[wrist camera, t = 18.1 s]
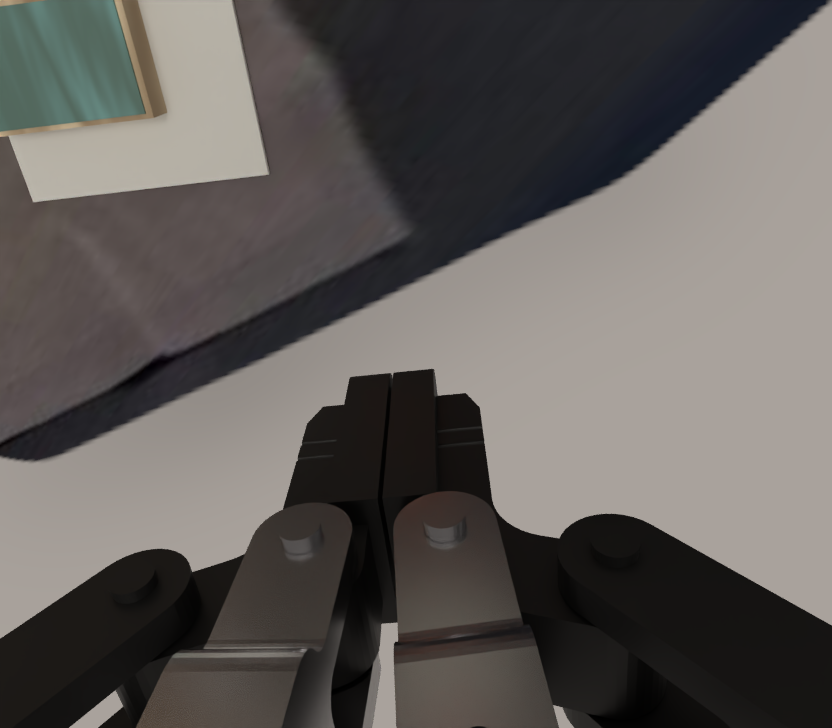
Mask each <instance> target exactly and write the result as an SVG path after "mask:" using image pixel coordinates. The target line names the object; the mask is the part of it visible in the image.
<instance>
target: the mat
mask: <svg viewBox="0 0 832 728" xmlns="http://www.w3.org/2000/svg"><path fill="white" fill-rule="evenodd" d="M138 4H139V8H140V11H141V15H142V19H143V23H144V26H145V30H146V34H147V38H148V41H149V45H150V49H151V53H152V56H153V60H154V64H155V68H156V71H157V75H158V79H159V82H160V86H161V90H162V94H163V97H164V101H165V105H166V109H167V113H165V114H162V115H160V116H158V117H155V118H150V119H142V120H133V121H125V122H117V123H109V124H101V125H93V126H84V127H76V128H68V129H60V130H52V131H44V132H36V133H27V134H19V135H11V136H9V139H10V141H11V144H12V147H13V149H14V152H15V155H16V157H17V160H18V163H19V165H20V168H21V171H22V173H23V176H24V179H25V181H26V184H27V187H28V189H29V192H30V195H31V197H32V200H33V202H38V201H47V200H55V199H64V198H73V197H81V196H90V195H98V194H107V193H116V192H124V191H133V190H141V189H150V188H158V187H167V186H176V185H184V184H193V183H201V182H210V181H218V180H227V179H236V178H244V177H253V176H261V175H269V174H270V171H269V167H268V162H267V157H266V152H265V148H264V143H263V138H262V133H261V129H260V124H259V119H258V114H257V110H256V105H255V100H254V96H253V91H252V86H251V81H250V77H249V72H248V67H247V62H246V58H245V53H244V48H243V43H242V39H241V34H240V29H239V24H238V20H237V15H236V10H235V6H234V1H233V0H138Z"/></svg>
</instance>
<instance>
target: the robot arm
mask: <svg viewBox="0 0 832 728" xmlns="http://www.w3.org/2000/svg"><path fill="white" fill-rule="evenodd" d="M396 622H398V642H395V643H394V675H395V700H396V726H397V728H559V727H558V723H557V719H556V715H555V712H554V708H553V705H556V706H560V707H563V710H564V712H565V714H566V716H567V718H568V720H569V721H570V723H571V724H572V725H573V726H574V728H832V625H830V624H828V623H826V622H824V621H822V620H821V619H819V618H817V617H815V616H814V615H812V614H810V613H808V612H806V611H805V610H803V609H801V608H799V607H797V606H796V605H794V604H792V603H790V602H789V601H787V600H785V599H783V598H781V597H780V596H778V595H776V594H774V593H773V592H771V591H769V590H767V589H765V588H764V587H762V586H760V585H758V584H756V583H755V582H753V581H751V580H749V579H747V578H746V577H744V576H742V575H740V574H738V573H737V572H735V571H733V570H731V569H730V568H728V567H726V566H724V565H722V564H721V563H719V562H717V561H715V560H713V559H712V558H710V557H708V556H706V555H705V554H703V553H701V552H699V551H697V550H696V549H694V548H692V547H690V546H688V545H686V544H685V543H683V542H681V541H679V540H678V539H676V538H674V537H672V536H670V535H669V534H667V533H665V532H663V531H662V530H660V529H658V528H656V527H654V526H653V525H651V524H649V523H647V522H645V521H643V520H640V519H637V518H634V517H630V516H625V515H618V514H599V515H593V516H589V517H585V518H583V519H580V520H578V521H576V522H574V523H573V524H571V525H570V526H569V527H568V528H566V529H565V531H564V532H563V533H562V535H561V537H560V539H558V538H552V537H545V536H540V535H535V534H531V533H528V532H525V531H522V530H520V529H518V528H515V527H514V526H512V525H511V524H509V523H507V522H506V521H505V520H504V519H503V518H502V517H501V516H500V515H499V514H498V513H497V511H496V509H495V507H494V505H493V502H492V497H491V488H490V481H489V473H488V466H487V458H486V451H485V444H484V436H483V429H482V422H481V414H480V408H479V406H477V405H476V403H475V402H474V401H473V400H472V399H471V398H470V397H469V396H468V395H467V394H466V393H463V394H453V395H442V396H437V387H436V379H435V373H434V369H428V370H417V371H407V372H397V373H394V374H393V378H392V375H391V373H388V374H377V375H368V376H356V377H350V379H349V384H348V389H347V394H346V399H345V404H344V405H337V406H326V407H323V408H322V409H321V410H320V411H319V412H318V413H317V414H316V415H315V416H314V417H313V418H312V420H310V421H309V423H307V426H306V430H305V434H304V437H303V440H302V446H301V448H300V451H299V455H298V461H297V462H296V465H295V469H294V472H293V476H292V479H291V483H290V487H289V490H288V493H287V497H286V500H285V504H284V508H283V510H281V511H279V512H277V513H275V514H274V515H272V516H271V517H269V518H268V519H267V520H265V521H264V522H263V523H262V524H261V525H260V526H259V528H258V529H257V530H256V531H255V533H254V535H253V537H252V539H251V542H250V544H249V546H248V549H247V551H246V553H245V554H244V555H242V556H240V557H237V558H235V559H232V560H229V561H226V562H223V563H220V564H217V565H214V566H211V567H208V568H204V569H201V570H198V571H195V572H192V571H191V567H190V565H189V562H188V561H187V559H186V558H185V557H184V556H183V555H182V554H180V553H178V552H176V551H172V550H168V549H151V550H146V551H141V552H137V553H134V554H131V555H129V556H126V557H124V558H122V559H120V560H118V561H116V562H114V563H113V564H111V565H109V566H108V567H106V568H105V569H103V570H102V571H101V572H99V573H97V574H96V575H94V576H93V577H91V578H90V579H88V580H87V581H86V582H84V583H83V584H81V585H79V586H78V587H77V588H75V589H73V590H72V591H71V592H69V593H68V594H66V595H65V596H63V597H62V598H60V599H59V600H57V601H56V602H54V603H53V604H51V605H50V606H48V607H47V608H45V609H44V610H42V611H41V612H39V613H38V614H36V615H35V616H34V617H32V618H30V619H29V620H27V621H26V622H25V623H23V624H22V625H20V626H19V627H17V628H16V629H14V630H13V631H11V632H10V633H8V634H7V635H5V636H4V637H2V638H1V639H0V728H69V727H70V726H71V725H73V724H74V723H75V722H76V721H78V720H79V719H80V718H81V717H82V716H84V715H85V714H86V713H87V712H89V711H90V710H91V709H92V708H94V707H95V706H96V705H97V704H99V703H100V702H101V701H102V700H104V699H105V698H106V697H107V696H109V695H110V694H111V693H112V692H113V691H115V690H116V692H117V694H118V696H119V698H120V700H121V702H122V704H123V706H124V707H122V708H121V709H120V710H119V711H118V712H117V713H115V714H114V715H113V716H112V717H111V718H109V719H108V720H107V721H106V722H104V723H103V724H102V725H101V726H100V727H98V728H372V724H373V718H374V712H375V705H376V698H377V691H378V685H379V679H380V671H381V665H380V659H379V655H378V652H379V646H380V634H381V624H382V623H396Z"/></svg>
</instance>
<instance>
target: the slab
mask: <svg viewBox="0 0 832 728" xmlns="http://www.w3.org/2000/svg"><path fill="white" fill-rule="evenodd" d="M165 113H167V109H166V105H165V101H164V97H163V94H162V90H161V86H160V82H159V79H158V75H157V71H156V68H155V64H154V60H153V56H152V53H151V49H150V45H149V41H148V38H147V34H146V30H145V26H144V23H143V19H142V15H141V11H140V8H139V4H138V0H0V137H3V136H11V135H19V134H27V133H36V132H44V131H52V130H60V129H68V128H76V127H84V126H93V125H101V124H109V123H117V122H125V121H133V120H142V119H150V118H155V117H158V116H160V115H162V114H165Z"/></svg>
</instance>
